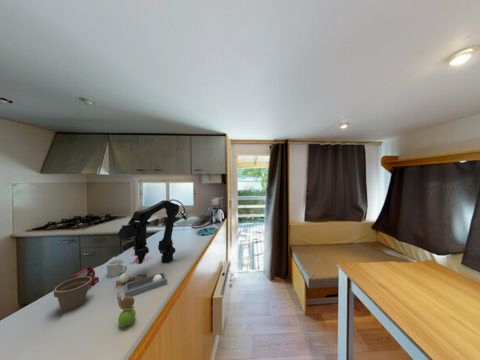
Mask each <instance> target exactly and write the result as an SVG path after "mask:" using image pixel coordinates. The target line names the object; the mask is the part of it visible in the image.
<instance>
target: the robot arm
mask: <svg viewBox="0 0 480 360" xmlns="http://www.w3.org/2000/svg"><path fill="white" fill-rule="evenodd" d="M163 209H165V213H166V217H167V218H166V221H165V222H166V223H165V226H164V227H165V229H164V233H163V237H162V238H161V240H159V242H158V245H157V249H158V251H159V254H161V256H160V257H161V258H160V262H161V264H165V263H166V264H168V263H171V262H172V261H173V262H174V254H175V253H176V248H175V247H174V246H173V245H174V242H173V239H172V237H173V236H172V235H173V230H174V225H175V219H176V216H177V215H178V214H179V210H180V205H179V204H178V203H174V202H171V201H170V200H164V199H163V200H161V201H159V202H158V203H156V204H154V205H151V206H149V207H148V208H147V207H146V208H143V209H140V210H137V211H135V212H133V215H132V216H131V218H130V220H129V221H128V223H127V224H124V225H123V224H122V225H121V228H119V231H118V237H119V239H120V240H126V239H129V238H131V239H129V240H126V241H124V242H122V243H121V248H122V250H123V251H124V252H126V251H128V250H129V249H133V251H134V252H133V253H134V254H135V256H138V260H139V264H138V265H142V264H143V263H142V261H143V259H144V257H145V255H146V254H147V253H148V254H150V253H149V251H150V249H149V247H148V246H147V243H148V242H147V238H148V235H147V230H148V229H147V227H148V226H147V225H150V224H151V222H150V221H148V220H150V219H151V218H152V217H153V215H154V214H156V213H158V212H159V211H161V210H163ZM145 245H146V246H145ZM148 254H147V255H148ZM147 255H146V256H147ZM141 263H142V264H141Z"/></svg>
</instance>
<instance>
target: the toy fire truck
mask: <svg viewBox="0 0 480 360" xmlns="http://www.w3.org/2000/svg"><path fill="white" fill-rule="evenodd" d="M83 276H89V277H91V278H92V284H91V285H90V287H89V288H88V291H89V290H90V289H91V288H92V286H93V287H94V286H95V285H96V284H98V282H100V281H99V277H98V276H96V271H95V269H94V268H93V267H92V266H91V265H87V266H86V267H85V268H83V269H81V270H80V271H79V272H77V273H76V274H74V275H73V277H72V279H74V278H78V277H83Z"/></svg>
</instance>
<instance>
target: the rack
mask: <svg viewBox="0 0 480 360" xmlns="http://www.w3.org/2000/svg"><path fill="white" fill-rule="evenodd" d="M146 277H148V275H147V272H144V273H139V274H137V275H133V276H131V277H129V280H128V281H127V282H125V283H121V282H120V281H119V280H116V281H115V289H118V288H122V287H125V284H126V283H129V282H133V281H136V280H139V279H143V278H146Z"/></svg>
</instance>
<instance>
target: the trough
mask: <svg viewBox="0 0 480 360" xmlns="http://www.w3.org/2000/svg"><path fill="white" fill-rule="evenodd" d="M158 274H159V275H161V276H162V280H160V281H157V282H154V283H153V278H154V276H156V275H158ZM145 284H146V285H145ZM166 285H168V279H167V276H166V275H165V272H160V273H157V274H153V275H149V276H147V277H146V278H143V279H139V280H136V281H133V282H129V283H126V284H125V286H124V293H125V294H124V296H125V297H126V296H131V297H134V296H138V295H141V294H143V293H145V292H149V291H151V290H155V289H157V288H160V287H162V286H166ZM132 288H133V289H132ZM125 297H124V298H125Z"/></svg>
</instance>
